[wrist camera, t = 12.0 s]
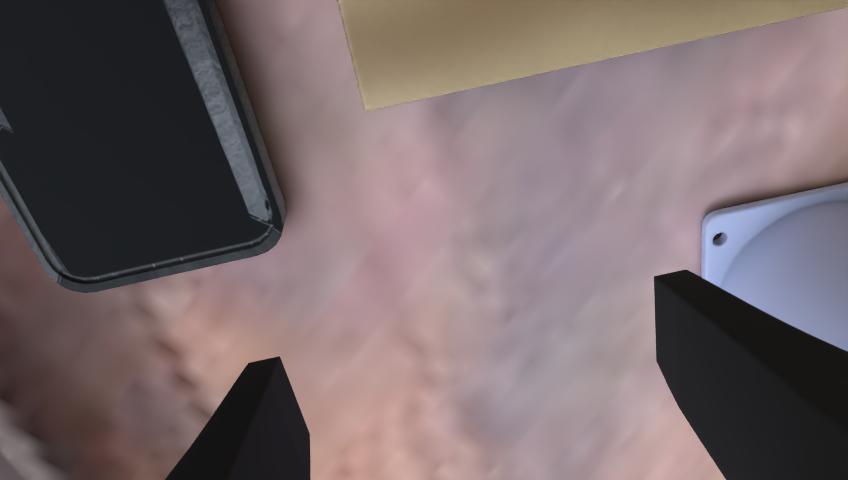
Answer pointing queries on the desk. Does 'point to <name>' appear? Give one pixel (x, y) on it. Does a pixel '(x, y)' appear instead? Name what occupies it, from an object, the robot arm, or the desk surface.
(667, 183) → the desk surface
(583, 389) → the desk surface
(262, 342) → the desk surface
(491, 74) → the shelf
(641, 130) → the desk surface
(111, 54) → the phone
